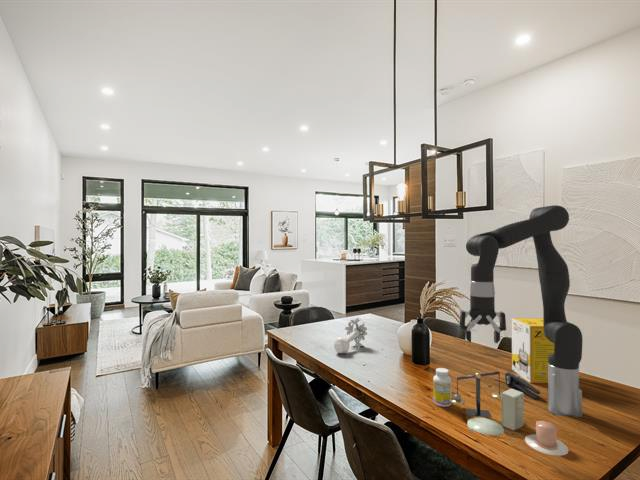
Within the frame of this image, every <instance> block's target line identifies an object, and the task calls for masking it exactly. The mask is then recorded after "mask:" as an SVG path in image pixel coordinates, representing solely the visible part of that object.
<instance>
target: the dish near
mask: <svg viewBox="0 0 640 480" xmlns="http://www.w3.org/2000/svg"><path fill="white" fill-rule="evenodd" d="M535 438H536V433H533V434H531V433H530V434H528V435H525V438H524V441H525V443H526V444H527V445H528V446H529V447H530V448H532V449H534V450H536V451H537V452H540V453H542V454H546V455H549V456H560V457H561V456H565V455H567V454H568V453H569V448H568V446H567V445H566V444H565V443H564V442H562V441H561V440H559V439H557V445H558V448H557V449H556V450H548V449H544V448H542V447H540V446H538V445H537V444H536V443H535Z"/></svg>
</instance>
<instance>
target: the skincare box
mask: <svg viewBox="0 0 640 480" xmlns="http://www.w3.org/2000/svg"><path fill="white" fill-rule="evenodd" d="M501 393H502V399H501V416H500V417H501V418H500V419H501V422H500V424H501V425H502V426H503V427H505V428H508V429H509V430H511V431H516V430H519V429H520V428H522V427H523V426H525V425H524V423H525V421H524V420H525V419H524V417H525V416H524V415H525V413H524V411H525V409H524V404H525V402H524V401H525V399H524V396H525V393H524V392H523V391H521V390H516V389H514V388H513V387H511V388H508V389H507V390H504V391H502V392H501Z"/></svg>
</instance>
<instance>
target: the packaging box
mask: <svg viewBox="0 0 640 480" xmlns="http://www.w3.org/2000/svg"><path fill="white" fill-rule="evenodd" d="M550 354H554V343H552V342H551V341H549V340H548V339H547V338H546V336H545V334H544V327H543V318H541V317H540V318H538V317H537V318H536V317H535V318H533V317H532V318H531V317H529V318H528V317H527V318H525V317H524V318H523V317H521V318H520V317H519V318H514V317H513V318H511V370H512V371H513V370H514V371H513V372H514V373H515V374H517V375H518V376H519V377H520V378H522V379H523V380H524V381H526V382H527V383H529V382H530V383H529V384H548V356H549V355H550Z"/></svg>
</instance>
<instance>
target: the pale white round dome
mask: <svg viewBox="0 0 640 480" xmlns="http://www.w3.org/2000/svg"><path fill="white" fill-rule="evenodd" d="M466 423H467V429H468V431H470V432H471V433H472V434H474V432H476V433H477V432H478V433H479V434H482V435H487V436H499V435H502V434H503V433H504V432H505V428H504V426H502V425H501V423H499V422H498V421H496V420H493V419H490V418H488V417H471V418H469V419H467V422H466ZM473 431H474V432H473Z"/></svg>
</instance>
